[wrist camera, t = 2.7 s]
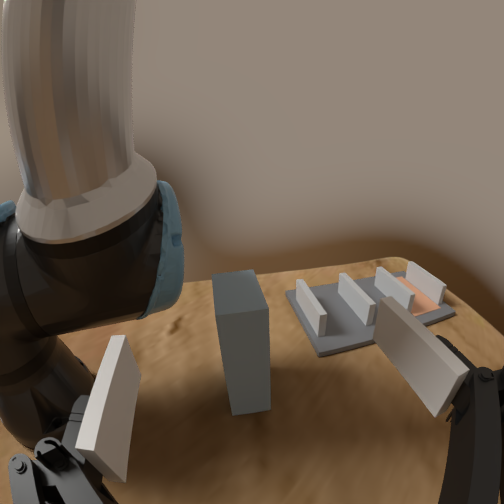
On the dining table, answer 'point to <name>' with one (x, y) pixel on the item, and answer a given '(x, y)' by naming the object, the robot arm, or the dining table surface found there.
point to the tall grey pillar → (243, 340)
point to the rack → (364, 306)
